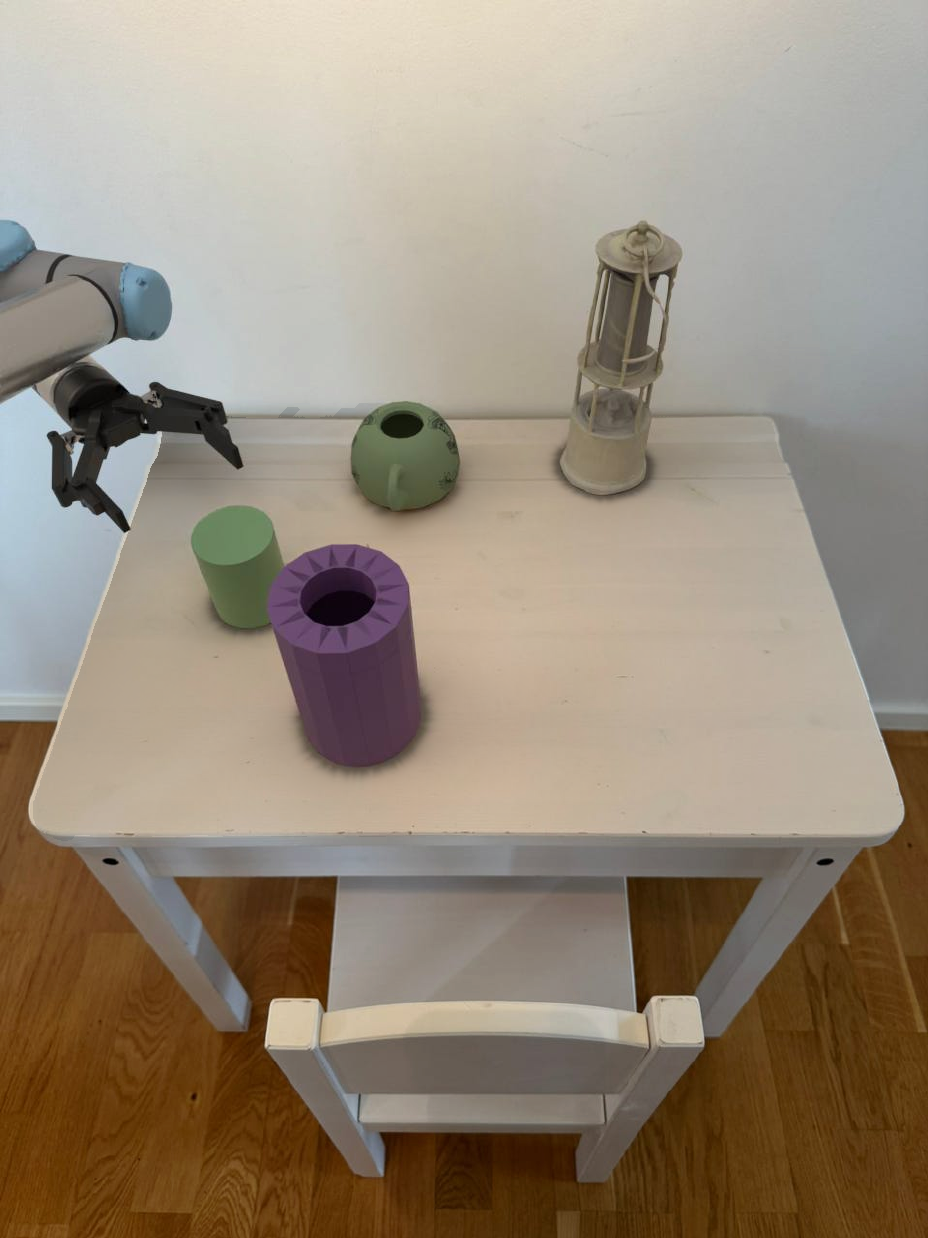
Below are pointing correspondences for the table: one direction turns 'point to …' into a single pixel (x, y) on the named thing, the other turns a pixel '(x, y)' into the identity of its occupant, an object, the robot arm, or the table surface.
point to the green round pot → (404, 456)
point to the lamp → (619, 362)
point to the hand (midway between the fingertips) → (182, 489)
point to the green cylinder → (238, 562)
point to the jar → (349, 651)
